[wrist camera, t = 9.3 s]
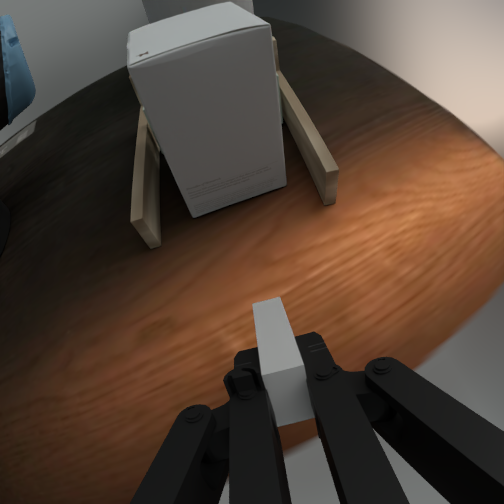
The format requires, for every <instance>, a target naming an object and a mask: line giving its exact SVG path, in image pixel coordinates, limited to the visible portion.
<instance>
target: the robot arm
mask: <svg viewBox="0 0 504 504" xmlns="http://www.w3.org/2000/svg"><path fill="white" fill-rule="evenodd" d="M35 91H36V90H35V85H34V82H33V79H32V76H31V73H30V70H29V67H28V65H27V62H26V59H25V57H24V53H23V51H22V48H21V45H20V43H19V39H18V36H17V34H16V30H15V27H14V24H13V21H12V18H11V16H10V15H5V16H1V17H0V130H1V129H3V128H4V127H5V126H6V125H7V124H8V125H10V124H11V123H12V121H13V119H14V118H15V117H16V116H18V115H19V114H20V113H21V112H22V111H23V110H24V109H26V108H27V107H28V106H29V105H30V104H31V103H32V101H33V99H34V97H35ZM10 221H11V216H10V211H9V209H8V207H7V206H6V205H5V204H4V203H3V202H2V201H1V200H0V255H1V253H2V251H3V248H4V246H5V243H6V240H7V237H8V233H9V229H10ZM253 312H254V320H255V328H256V336H257V344H258V347H256V348H251V349H247V350H243V351H239V352H238V353H237V355H236V356H235V358H234V369H233V370H231V371H230V372H228V373H227V374H226V375H225V377H224V380H223V381H224V384H225V386H226V389H227V392H228V394H229V397H230V400H229V401H228V402H227V403H226V404H224V405H222V406H220V407H218V408H215V409H213V410H211V409H210V408H209V407H208V406H206V405H201V404H199V405H192V406H190V407H187V408H186V409H184V410H183V411H181V412H180V414H179V415H178V416H177V418H176V420H175V422H174V424H173V426H172V428H171V429H170V431H169V433H168V435H167V437H166V439H165V440H164V442H163V444H162V446H161V448H160V450H159V451H158V453H157V455H156V457H155V459H154V461H153V462H152V464H151V466H150V468H149V470H148V472H147V473H146V475H145V477H144V479H143V481H142V482H141V484H140V486H139V488H138V490H137V491H136V493H135V495H134V497H133V499H132V501H131V502H130V504H218V503H219V500H220V497H221V494H222V491H223V488H224V485H225V482H226V479H227V476H228V473H229V504H292V503H291V497H290V491H289V487H288V480H287V474H286V469H285V463H284V457H283V451H282V446H281V440H280V435H279V432H278V429H277V427H278V426H283V425H287V424H291V423H295V422H299V421H303V420H307V419H311V418H314V417H315V420H316V425H317V430H318V435H319V438H320V439H321V442H322V445H323V448H324V452H325V455H326V458H327V462H328V464H329V468H330V471H331V474H332V478H333V481H334V485H335V488H336V491H337V494H338V498H339V501H340V504H409V502H408V500H407V497H406V495H405V493H404V491H403V489H402V487H401V485H400V483H399V481H398V479H397V477H396V475H395V473H394V471H393V469H392V466H391V464H390V462H389V460H388V458H387V456H386V454H385V452H384V451H383V448H382V446H381V444H380V442H379V440H378V438H377V436H376V434H375V432H374V430H375V431H376V432H377V433H378V434H379V435H380V436H381V437H382V438H383V439H384V440H385V441H386V442H387V443H388V444H389V445H390V446H391V447H392V448H393V449H394V450H395V451H396V452H397V453H398V454H399V455H400V456H402V458H403V459H404V460H405V461H406V462H407V463H409V465H410V466H411V467H413V468H414V469H415V470H416V471H417V472H418V473H419V474H420V475H421V476H422V477H423V478H424V479H425V480H426V481H427V482H428V483H429V484H430V485H431V486H432V487H433V488H435V489H436V490H437V491H438V492H439V493H440V494H441V495H442V496H443V497H444V498H445V499H446V500H447V501H448V502H449V503H450V504H504V431H502V430H501V429H499V428H498V427H496V426H494V425H493V424H492V423H490V422H488V421H487V420H486V419H484V418H482V417H481V416H480V415H478V414H476V413H475V412H474V411H472V410H471V409H469V408H468V407H466V406H465V405H463V404H462V403H460V402H459V401H457V400H456V399H454V398H453V397H451V396H450V395H448V394H447V393H445V392H444V391H442V390H441V389H439V388H438V387H436V386H435V385H433V384H432V383H430V382H429V381H427V380H426V379H424V378H423V377H422V376H420V375H419V374H417V373H416V372H414V371H413V370H411V369H410V368H408V367H407V366H405V365H404V364H402V363H401V362H399V361H398V360H396V359H394V358H391V357H381V358H377V359H374V360H372V361H370V362H369V363H368V364H367V365H366V367H365V371H358V372H348V371H344V370H342V368H341V367H340V366H338V365H336V364H335V362H334V360H333V358H332V356H331V354H330V352H329V350H328V348H327V346H326V344H325V343H324V340H323V338H322V337H321V335H319V334H317V333H316V332H311V333H307V334H304V335H300V336H296V337H294V335H293V332H292V329H291V327H290V324H289V321H288V318H287V315H286V312H285V310H284V307H283V304H282V301H281V298H280V297H277V298H273V299H269V300H265V301H261V302H258V303H254V304H253ZM373 429H374V430H373Z"/></svg>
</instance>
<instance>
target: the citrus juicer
mask: <svg viewBox="0 0 504 504" xmlns="http://www.w3.org/2000/svg"><path fill="white" fill-rule="evenodd" d="M229 1H230V2H232V3H234V4H236V5H237V6H239V7H241V8H243V9H244V10H246V11H248V12H250V13H251V14H253V15H254V13H253V12H254V11H253V4H252V0H142V2H143V5H144V8H145V11H146V14H147V17H148V20H149V23H150V24H151V23H154V22H157V21H160V20H163V19H166V18H170V17H173V16H176V15H180V14H183V13H186V12H190V11H193V10H197V9H200V8H203V7H207V6H211V5H215V4H220V3H225V2H229Z"/></svg>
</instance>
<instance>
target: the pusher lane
mask: <svg viewBox="0 0 504 504" xmlns="http://www.w3.org/2000/svg"><path fill="white" fill-rule="evenodd" d="M272 40H273V49H274V57H275V65H276V73H277V74H278V77H279V87H280V97H281V107H282V116H283V118H284V120H285V122H286V124H287V126H288V128H289V130H290V132H291V134H292V136H293V138H294V140H295V142H296V144H297V146H298V149H299V151H300V153H301V155H302V157H303V159H304V161H305V163H306V166H307V168H308V170H309V172H310V174H311V177H312V179H313V181H314V183H315V185H316V188H317V190H318V192H319V194H320V197H321V199H322V201H323V204H324V205H329V204H333V203H335V202H336V193H337V184H338V175H339V169H338V167H337V165H336V163H335V161H334V159H333V158H332V156H331V154H330V152H329V150H328V149H327V147H326V145H325V143H324V142H323V140H322V138H321V136H320V135H319V133H318V131H317V129H316V128H315V126H314V124H313V123H312V121H311V119H310V118H309V116H308V114H307V113H306V111H305V109H304V108H303V106H302V104H301V103H300V101H299V100H298V98H297V97H296V95H295V93H294V92H293V90H292V89H291V87H290V86H289V84H288V82H287V81H286V79H285V78H284V76H283V75H282V73H281V72H280V70H279V61H278V52H277V43H276V39H275V38H274V37H272ZM129 79H130V81H131V83H132V86H133V88H134V90H135V93H136V95H137V97H138V100H139V102H140V104H141V110H140V117H139V125H138V133H137V141H136V151H135V161H134V173H133V186H132V202H131V223H132V224H133V226H134V227H135V228H136V230H137V231H138V233H139V234H140V235H141V237H142V238H143V239H144V241H145V242H146V243H147V245H148V246H149V247H150V249H151V248H155V247H159V246H161V226H160V175H159V167H160V148H159V146H158V144H157V141H156V139H155V137H154V135H153V132H152V130H151V128H150V126H149V123H148V121H147V119H146V117H145V114H144V112H143V105H142V102H141V100H140V97H139V95H138V93H137V90H136V88H135V85H134V83H133V80H132V78H131V75H130V76H129Z"/></svg>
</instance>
